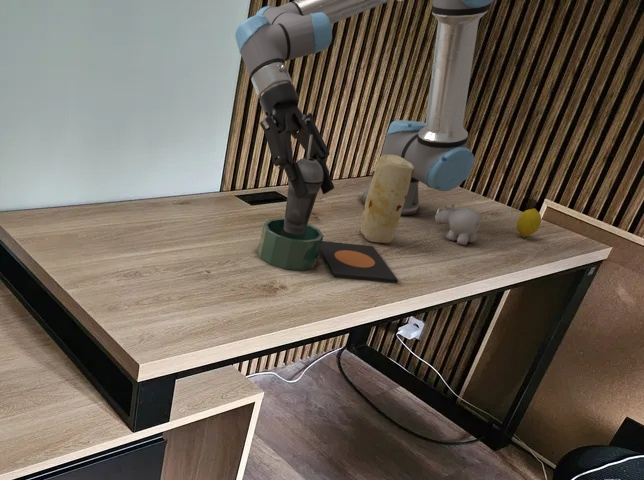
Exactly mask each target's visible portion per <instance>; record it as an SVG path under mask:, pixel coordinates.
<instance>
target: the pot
mask: <svg viewBox="0 0 644 480" xmlns="http://www.w3.org/2000/svg"><path fill="white" fill-rule="evenodd" d="M284 219H285V218H281V217H279V218H270V219H268V220H266V221H265V222H264V223H263V224H262V229H261V233H260V239H259V245H258V248H257V254H258V256H259V258H260V259H261V260H263V261H265V262H266V263H268V264H269V265H272V266H275V267H278V268H281V269H284V270H293V271H305V270H309V269H313V268H314V267H315V266H316V265H317V263H318V259H319V256H320V248H321V244H322V241H324V237H325V236H324V233H323V232H322V230H321V229H320V228H318V227H316V226H314V225H312V224H311V223H308V224H307V227H306V229H305V232H304V234H301V235H296V234H291V233H288V232H286V231H285V230H284Z"/></svg>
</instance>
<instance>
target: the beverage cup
mask: <svg viewBox="0 0 644 480" xmlns="http://www.w3.org/2000/svg"><path fill="white" fill-rule="evenodd" d="M312 137H313V135H310V140H309V146H308V153H306V157H303V158H299V159H298V160H297V161H296V162H297V163H298V166H299V168H300V171H301V173H302V176H303V179H304V181H305V184H306V186H307V189H308V191H309V192H308V193H307V194H305V195H304V196H302V197H301V198H298V199H297V196H296V194H295V191H294V189H293V186H292V184H291V182H290V181H289V180H288V179H287V186H288V188H287V196H286V203H285V212H284V218H283V219H284V230H285V231H286V232H288V233H291V234H296V235H301V234H304V232H305V229H306V227H307V224H309V220H310V217H311V215H312V211H313V208H314V206H315V202H316V199H317V197H318V193H319V192H320V190H321V188H320V187H321V185H322V183H323V169H322V167H321V165H320V163H319V162H318V161H316V160H315V159H313V158H310V150H311V144H312Z"/></svg>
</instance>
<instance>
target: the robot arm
mask: <svg viewBox="0 0 644 480" xmlns="http://www.w3.org/2000/svg"><path fill="white" fill-rule="evenodd" d="M391 1H392V0H293V1H290V2H286V3H284V4H282V5H279V6H276V5H266V6H263V7H262V8H260V9H259V10H258V11H257V12H256V14H255V15H252V16H249V17H248V18H246V19H245V20H243V21H242V22H240V24H239V25H238V26H237V27H236V30H235V34H234V38H235V42H236V45H237V47H238V50H239V51H238V52H239V54H240V56H241V58H242V60H243V63H244V65H245V67H246V70H247V72H248V75H249V78H250V81H251V83H252V86H253V89H254V91H255V94H256V96H257V99H259V103H260V106H261V108H262V111H263V113H264V115H265V116H266V117H264V118H263V119H262V120H261V121H260V122H259V125H260V127H261V129H262V130H263V132H264V136H265V138H266V142H267V146H268V150H269V152H270V156H271V160H272V162H273V165H274V167H278V169H279V170H280V171H283V170H284V172H285V174H286V177H287V181H288V180H289V181H290V182H291V184H292V186H293V189H294V191H295V194H296V196H297V199H298V198H301V197H302V196H304V195H305V194H307V193H308V192H309V191H308V189H307V186H306V184H305V181H304V179H303V176H302V173H301V171H300V168H299V166H298V163H297V161H295V162H294V154H293V144H292V138H293V139H294V140H297V142H298V143H299V144H300V146H301V148H303V150H304V151H305V153H306V154H307V153H308V146H309V140H310V135H313V137H312V144H311V150H310V157H309V158H313V159H315V160H316V161H318V162H319V163H320V165H321V167H322V169H323V183H322V185H321V187H320V190H321V193H322V195H327V194H328V193H329V192H331V191H332V190H334V189H335V185H334V183H333V180H332V178H331V175H330V169H329V168H328V165H327V163H326V159H327V158H328V157H329V156H331V153H330V150H329V148H328V146H327V145H326V143H325V141H324V139H323V136H322V135H321V133H320V131H319V128H318V126H317V125H316V123H315V119H314V115H313V113H312V112H309V113H307V114H303V112H302V111H301V109H300V108H299V101H300V97H299V95H298V92H297V90H296V88H295V85H294V84H293V81H292V77H291V75H290V73H289V71H288V68H287V65H286V62H288V61H292V60H295V59H299V58H302V57H306V56H310V55H315V54H317V53H319V52H322V51H324V50H326V49H328V48H329V47H330V46H331V43H332V41H333V40H332V39H333V27H332V24H335V23H338V22H340V21H343V20H345V19H348V18H350V17H353V16H355V15H358V14H360V13H364V12H366V11H368V10H371V9H374V8H376V7H378V6H380V5H383V4H386V3H389V2H391ZM396 1H397V2H403V1H404V0H396ZM492 2H494V0H433V1H432V8H431V14H432V16H434V18H435V19H436V20H437V27H436V35H435V43H434V52H433V59H432V60H433V61H432V69H431V77H430V85H429V92H428V101H427V108H426V117H425V122H422V121H416V120H415V121H414V120H404V119H397V120H394V121H392V122H391V123H389V128H388V129H387V130H388V131H387V132H386V134H385V139H384V142H383V147H382V150H381V153H380V157H381V156H382V155H396V156H399V157H401V158H403V159H405V160H406V161H408V162H410V163H411V164H412V165H413V167H414V171H413V174H412V177H411V181H410V185H409V189H408V193H407V196H406V200H405V203H404V206H403V209H402V212H401V216H411V215H414V214H416V213H417V211H418V208H419V184H420V182H421V183H422V184H424V185H426V187H427V188H430V189H433V190H436V191H438V192H449V191H452V190H454V189H456V188H458V187H459V186H461V185H462V183H464V181H466V180H467V178H468V177H469V176H470V174H471V172H472V170H473V167H474V165H475V157H474V154H473V152H472V150H471V149H470V148H468V147H467V144H468V138H469V132H468V130H467V129H466V128H465V127H464V120H465V114H466V106H467V100H468V94H469V87H470V80H471V74H472V68H473V63H474V62H473V61H474V54H475V48H476V42H477V36H478V35H477V34H478V29H479V23H480V19H481V18H482V17H484V16H485V15H486V14H487V13H488V12H489V5H490V4H491V3H492ZM374 172H375V170H373V171H372V172H371V175H372V176H373V175H374ZM370 185H371V181H369V184H367V187H366V188H365V190H364V191H363V192H362V197H361V202H362V203H363V204H364V205H365V202H366V198H367V195H368V191H369V188H370Z"/></svg>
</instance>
